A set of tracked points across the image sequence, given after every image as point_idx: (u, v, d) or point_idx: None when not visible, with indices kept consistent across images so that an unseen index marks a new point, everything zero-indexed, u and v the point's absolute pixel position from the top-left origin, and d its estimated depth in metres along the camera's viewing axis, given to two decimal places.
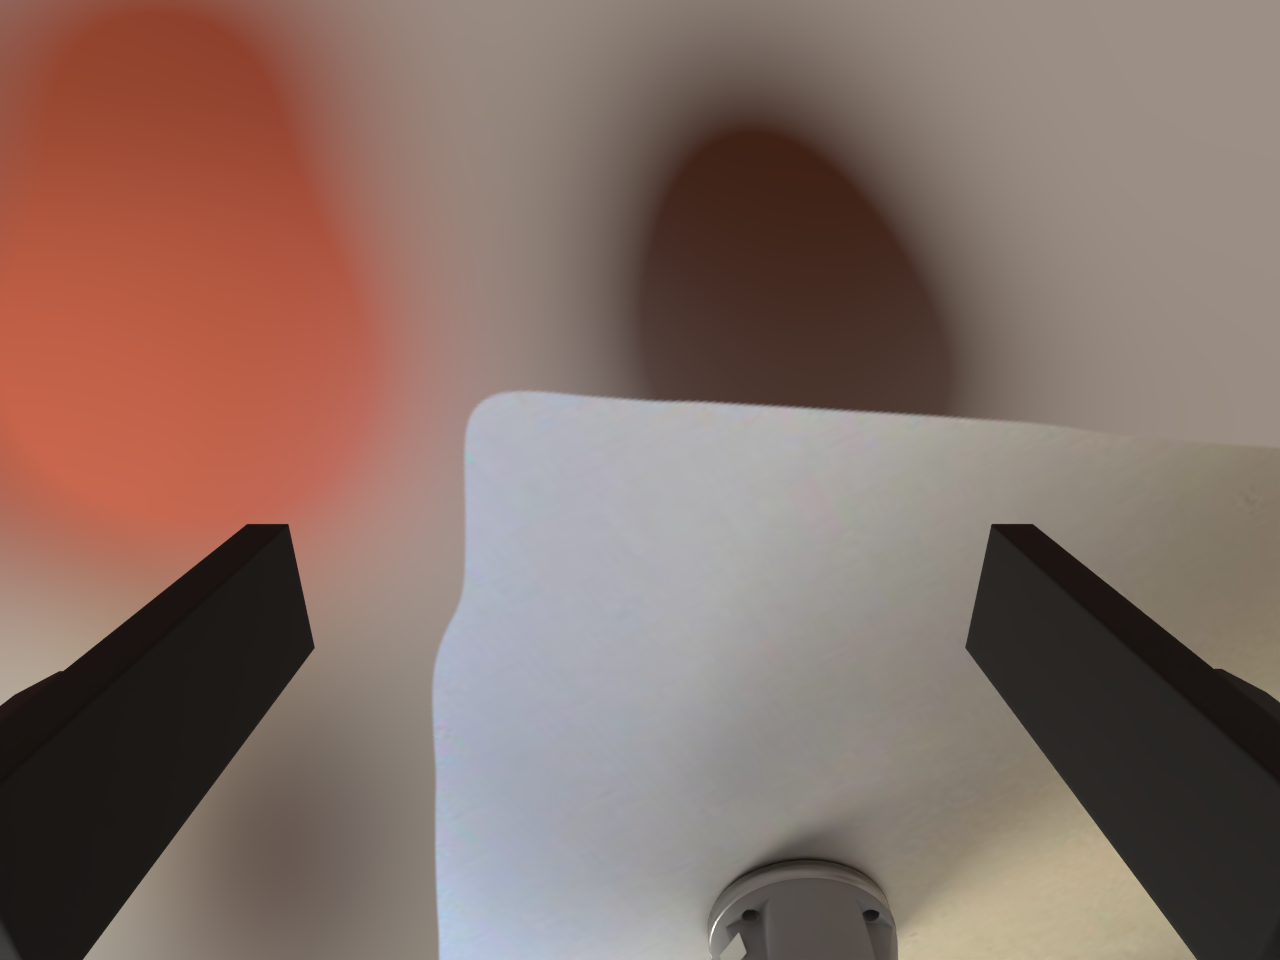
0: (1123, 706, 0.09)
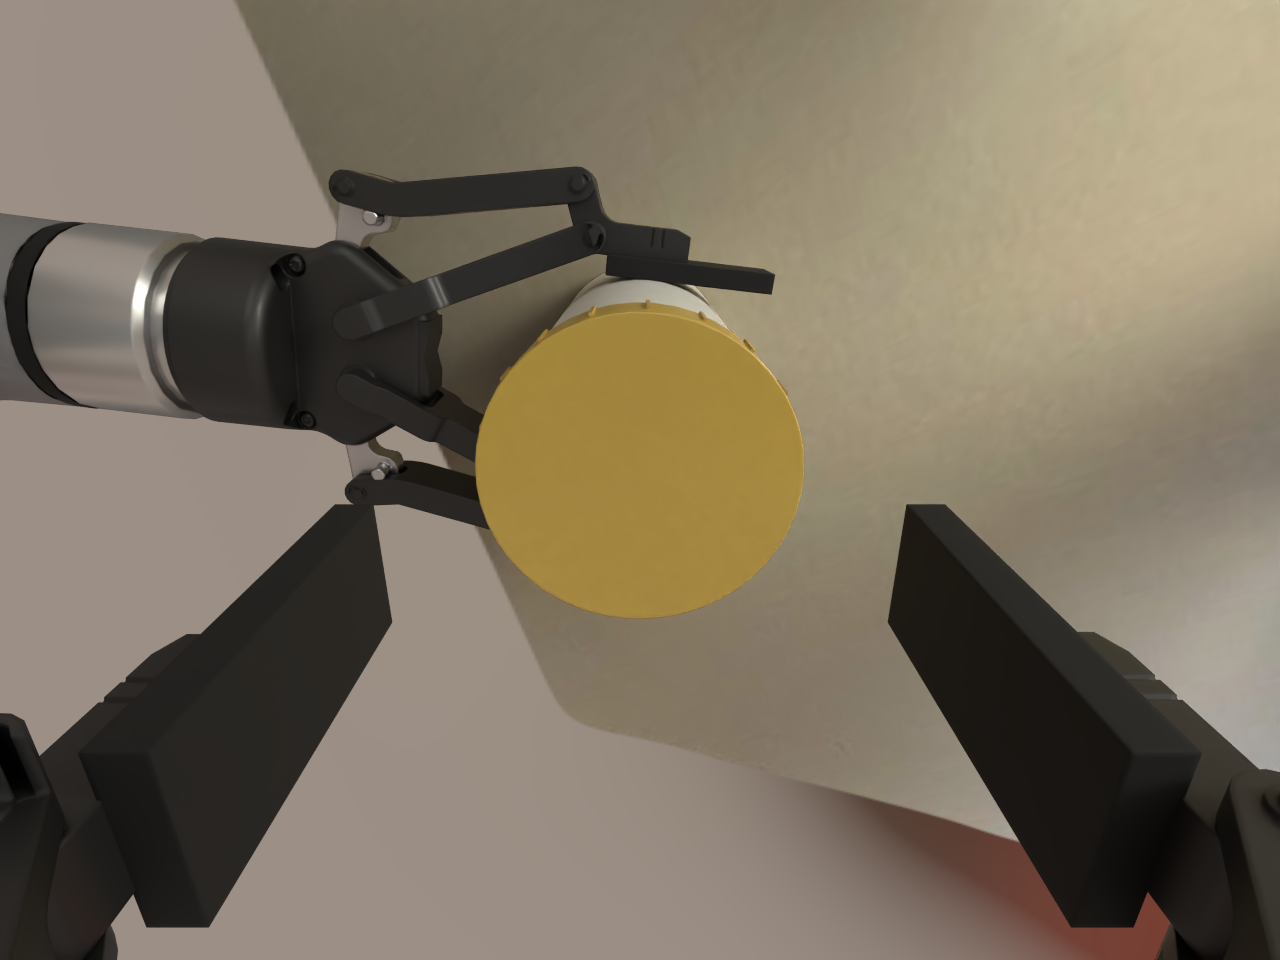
0: (997, 664, 0.10)
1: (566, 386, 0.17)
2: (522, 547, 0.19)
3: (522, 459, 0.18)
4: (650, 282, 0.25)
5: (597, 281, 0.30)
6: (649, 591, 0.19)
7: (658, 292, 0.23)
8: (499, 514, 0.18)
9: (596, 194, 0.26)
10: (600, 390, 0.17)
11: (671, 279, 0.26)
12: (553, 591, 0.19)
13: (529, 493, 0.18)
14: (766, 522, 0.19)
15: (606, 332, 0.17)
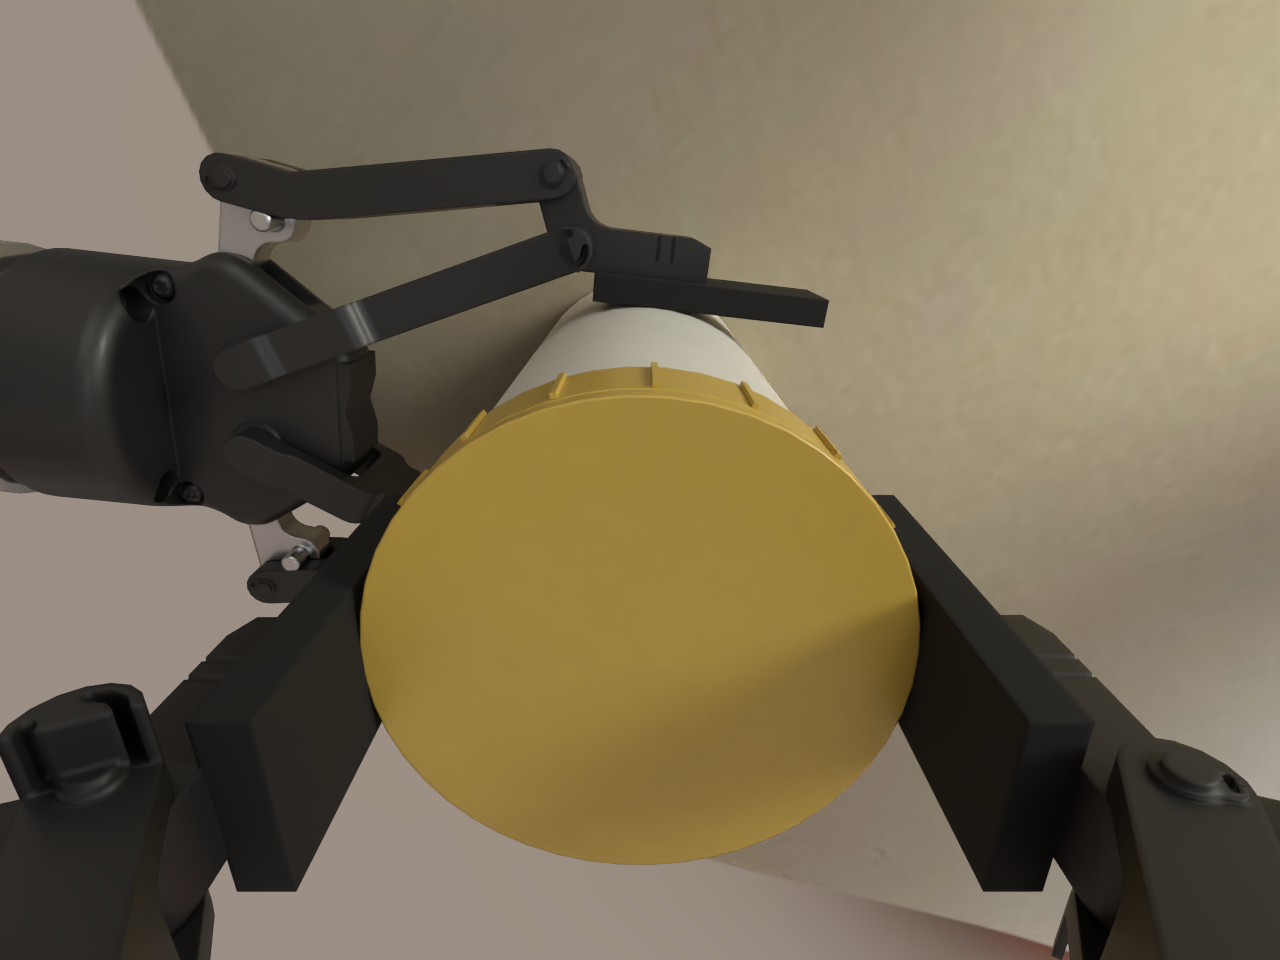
0: (926, 645, 0.10)
1: (511, 521, 0.10)
2: (446, 765, 0.11)
3: (439, 636, 0.10)
4: (655, 312, 0.18)
5: (584, 304, 0.23)
6: (655, 828, 0.12)
7: (668, 332, 0.15)
8: (405, 718, 0.11)
9: (579, 188, 0.18)
10: (571, 527, 0.10)
11: (684, 307, 0.19)
12: (500, 828, 0.12)
13: (454, 687, 0.11)
14: (850, 730, 0.11)
15: (580, 430, 0.09)
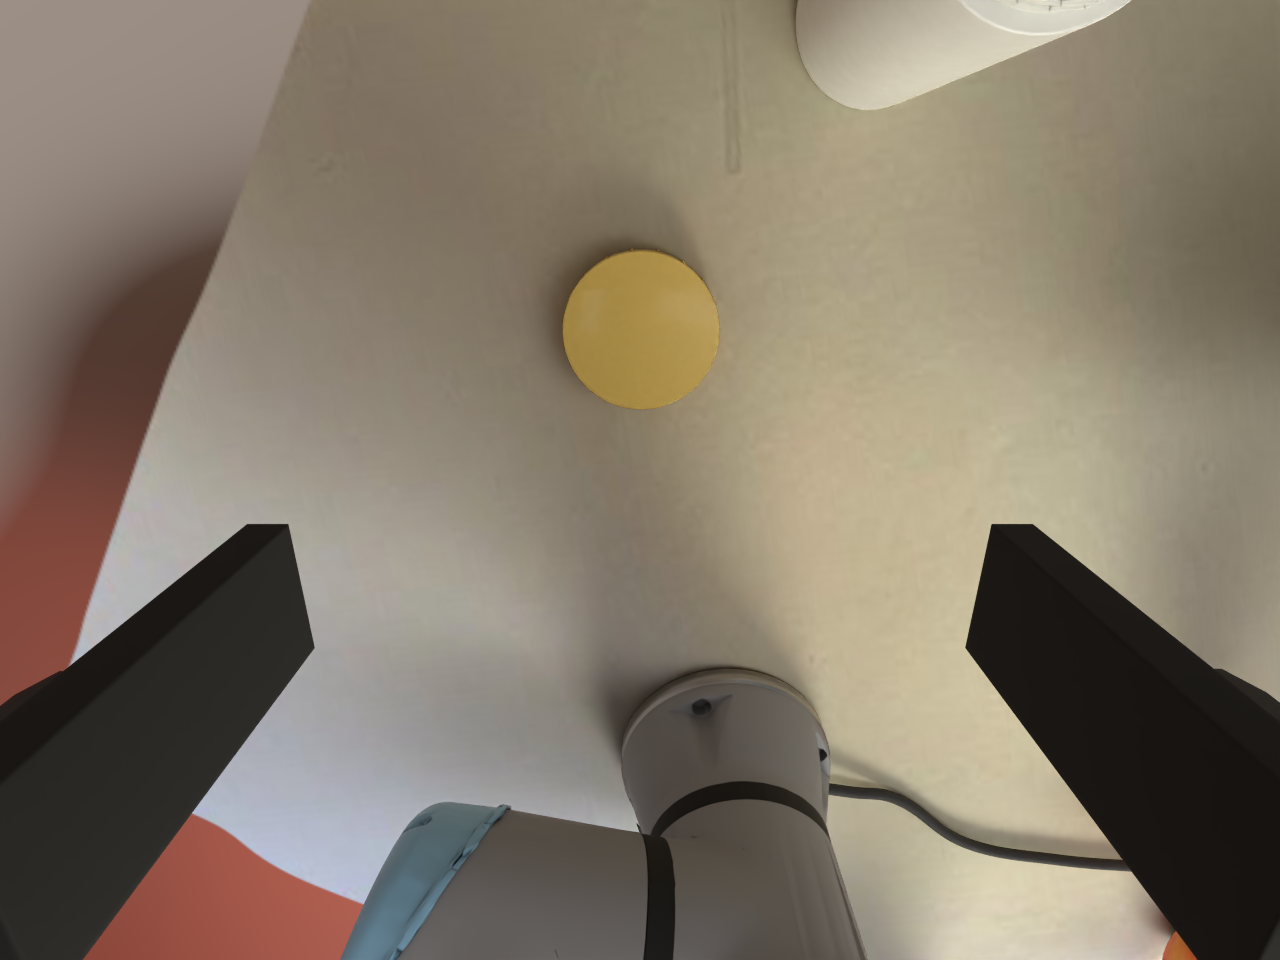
0: (1123, 706, 0.09)
1: (585, 327, 0.38)
2: (628, 399, 0.39)
3: (597, 367, 0.39)
4: None
5: None
6: (688, 371, 0.39)
7: None
8: (609, 394, 0.39)
9: None
10: (596, 316, 0.38)
11: None
12: (655, 405, 0.39)
13: (611, 376, 0.39)
14: (701, 302, 0.37)
15: (579, 296, 0.37)
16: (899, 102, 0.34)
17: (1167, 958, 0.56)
